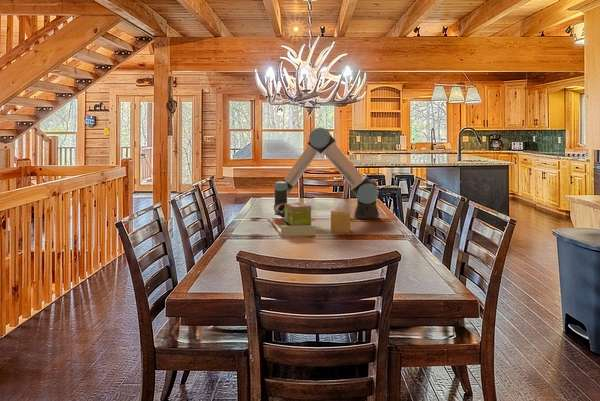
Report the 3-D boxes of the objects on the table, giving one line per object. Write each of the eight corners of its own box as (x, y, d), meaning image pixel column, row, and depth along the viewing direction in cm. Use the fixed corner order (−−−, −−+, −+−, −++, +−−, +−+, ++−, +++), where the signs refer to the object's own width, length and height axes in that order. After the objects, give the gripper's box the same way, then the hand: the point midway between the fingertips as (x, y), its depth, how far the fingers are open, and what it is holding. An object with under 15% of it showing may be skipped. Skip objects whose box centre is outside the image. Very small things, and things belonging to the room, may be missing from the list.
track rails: (296, 219, 308) (296, 216, 307) (309, 230, 270) (309, 227, 270) (268, 220, 304) (268, 217, 304) (277, 231, 267) (277, 228, 267)
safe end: (309, 230, 270) (309, 221, 270) (315, 235, 257) (315, 225, 257) (277, 231, 267) (277, 222, 267) (281, 236, 254) (281, 226, 254)
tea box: (284, 230, 271) (284, 202, 269) (302, 229, 274) (302, 201, 272) (292, 235, 257) (292, 206, 255) (311, 234, 260) (311, 205, 258)
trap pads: (293, 219, 306) (293, 219, 306) (297, 223, 294) (297, 222, 293) (271, 220, 304) (271, 219, 304) (274, 223, 291) (274, 223, 291)
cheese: (350, 229, 274) (350, 211, 273) (350, 233, 264) (350, 213, 262) (330, 229, 275) (330, 210, 274) (329, 232, 265) (330, 213, 263)
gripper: (294, 216, 300) (303, 223, 277) (272, 217, 297) (279, 223, 274) (294, 203, 299) (303, 209, 276) (272, 204, 296) (279, 209, 273)
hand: (291, 216), depth 275 cm, fingers closed
